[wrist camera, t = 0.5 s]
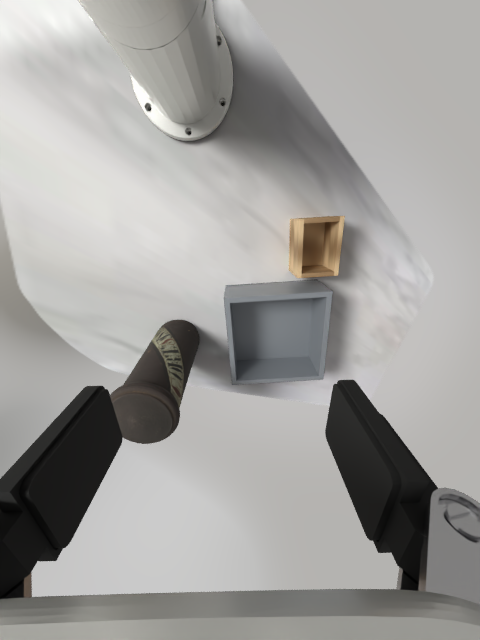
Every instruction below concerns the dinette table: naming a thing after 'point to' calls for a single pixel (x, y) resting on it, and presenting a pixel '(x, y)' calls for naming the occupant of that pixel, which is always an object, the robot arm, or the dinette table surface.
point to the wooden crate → (315, 246)
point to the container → (157, 385)
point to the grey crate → (277, 331)
